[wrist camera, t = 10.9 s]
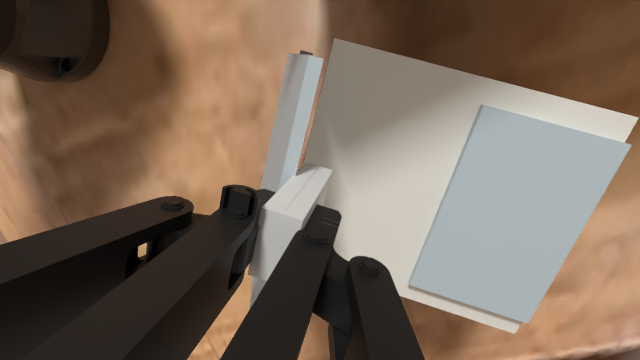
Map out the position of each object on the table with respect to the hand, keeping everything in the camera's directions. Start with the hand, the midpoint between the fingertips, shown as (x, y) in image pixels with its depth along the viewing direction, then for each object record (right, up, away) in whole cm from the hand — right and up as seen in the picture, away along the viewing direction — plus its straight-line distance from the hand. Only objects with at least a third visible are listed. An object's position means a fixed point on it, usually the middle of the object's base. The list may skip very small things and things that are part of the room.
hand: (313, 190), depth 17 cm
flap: (-2, +2, +5) cm, 5 cm away
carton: (+10, +3, +18) cm, 21 cm away
